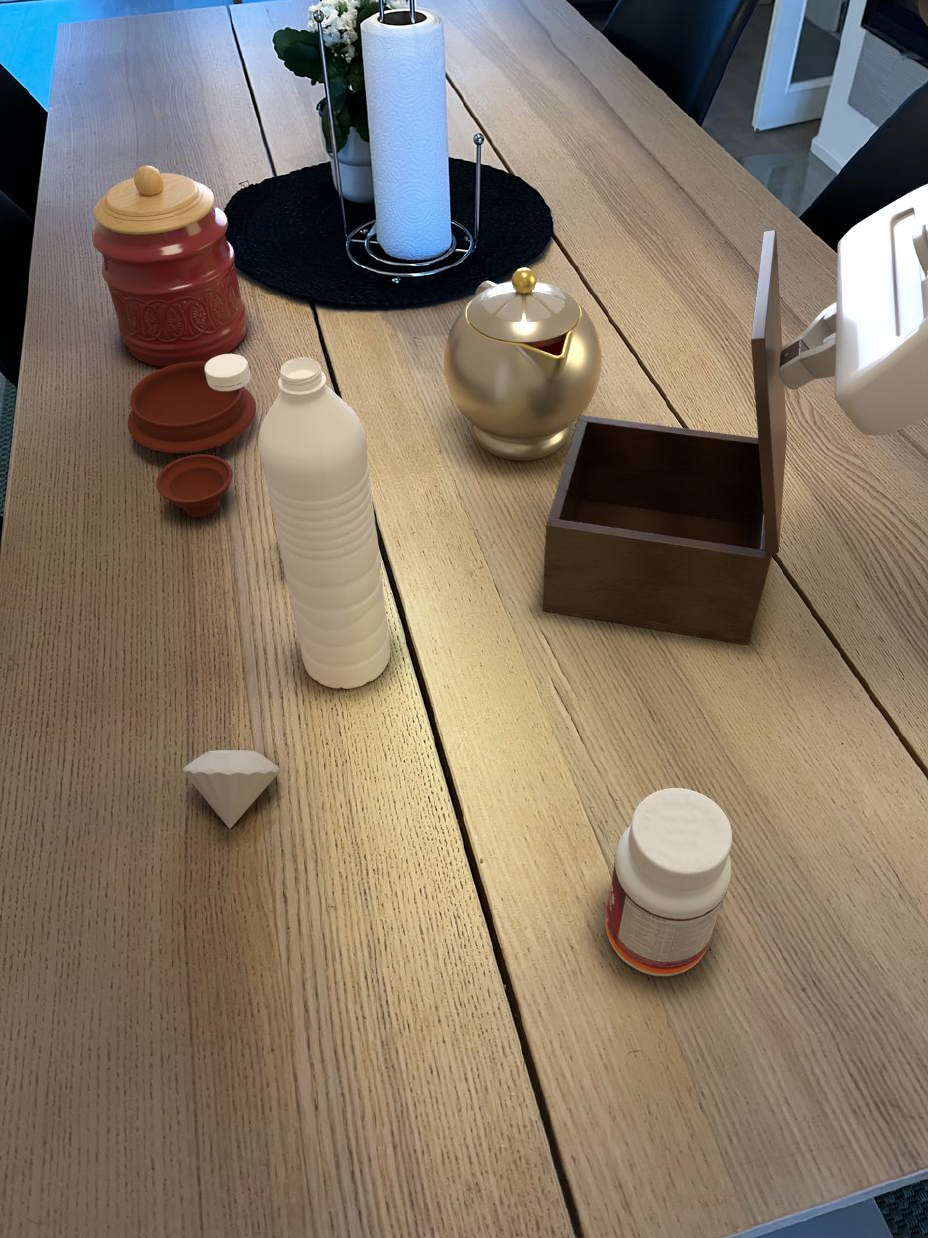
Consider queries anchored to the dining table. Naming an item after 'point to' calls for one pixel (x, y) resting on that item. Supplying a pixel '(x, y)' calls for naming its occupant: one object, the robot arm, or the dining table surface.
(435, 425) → the dining table surface
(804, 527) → the dining table surface
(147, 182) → the kitchen canister
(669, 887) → the pill bottle
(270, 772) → the gemstone
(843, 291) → the robot arm
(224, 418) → the pottery
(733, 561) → the chest
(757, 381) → the lid
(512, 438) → the teapot
